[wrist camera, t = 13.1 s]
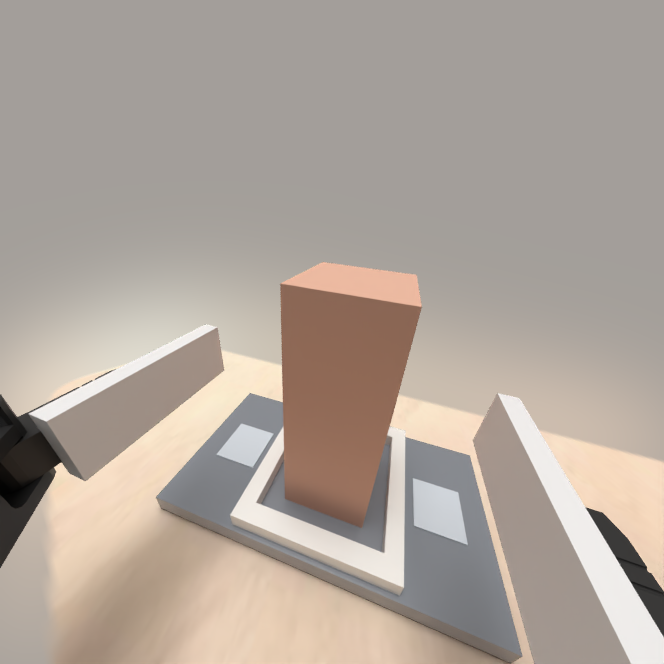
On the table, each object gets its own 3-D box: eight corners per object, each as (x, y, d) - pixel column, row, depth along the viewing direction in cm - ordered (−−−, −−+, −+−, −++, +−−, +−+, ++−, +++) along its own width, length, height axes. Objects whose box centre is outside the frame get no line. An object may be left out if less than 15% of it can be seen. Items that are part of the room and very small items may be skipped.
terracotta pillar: (372, 454, 18) (416, 274, 12) (362, 528, 14) (421, 306, 8) (312, 436, 19) (322, 262, 13) (285, 498, 15) (280, 283, 9)
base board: (464, 464, 19) (474, 447, 18) (510, 663, 11) (533, 650, 10) (250, 402, 24) (249, 385, 23) (160, 507, 15) (151, 487, 14)
